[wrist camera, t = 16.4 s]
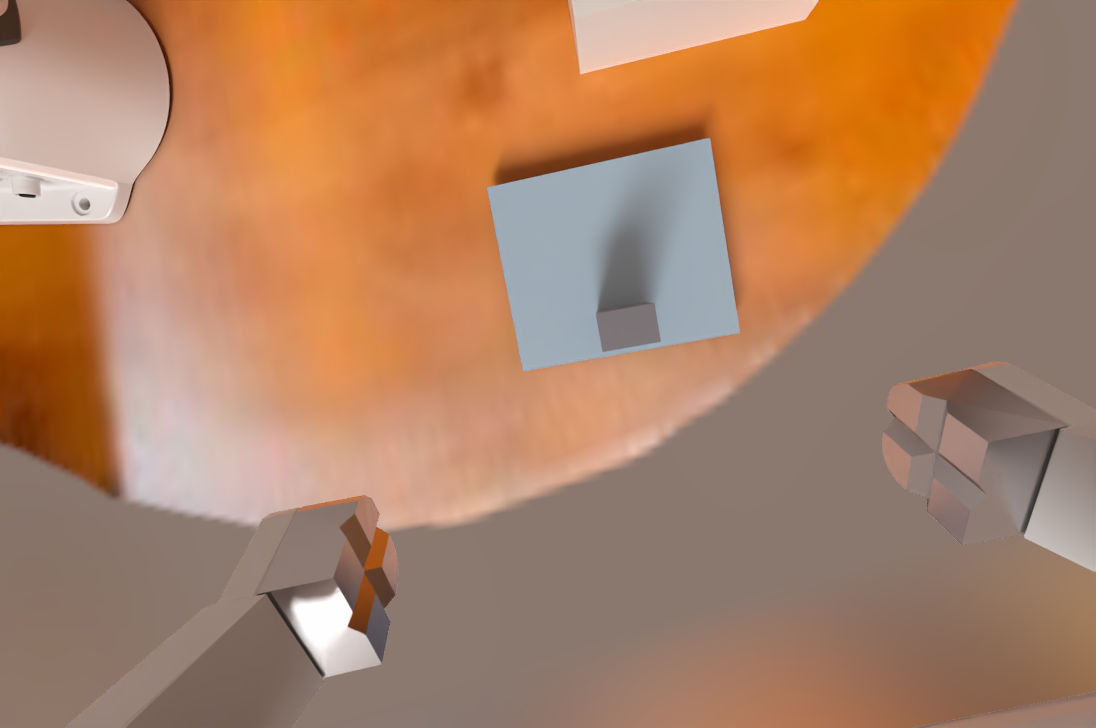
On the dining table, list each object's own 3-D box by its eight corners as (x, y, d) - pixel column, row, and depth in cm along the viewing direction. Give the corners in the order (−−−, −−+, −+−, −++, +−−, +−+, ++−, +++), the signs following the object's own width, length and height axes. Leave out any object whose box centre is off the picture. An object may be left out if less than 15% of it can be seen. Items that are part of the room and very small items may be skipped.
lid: (527, 367, 37) (503, 389, 28) (493, 193, 36) (456, 158, 27) (732, 331, 35) (775, 341, 26) (703, 146, 34) (739, 93, 25)
